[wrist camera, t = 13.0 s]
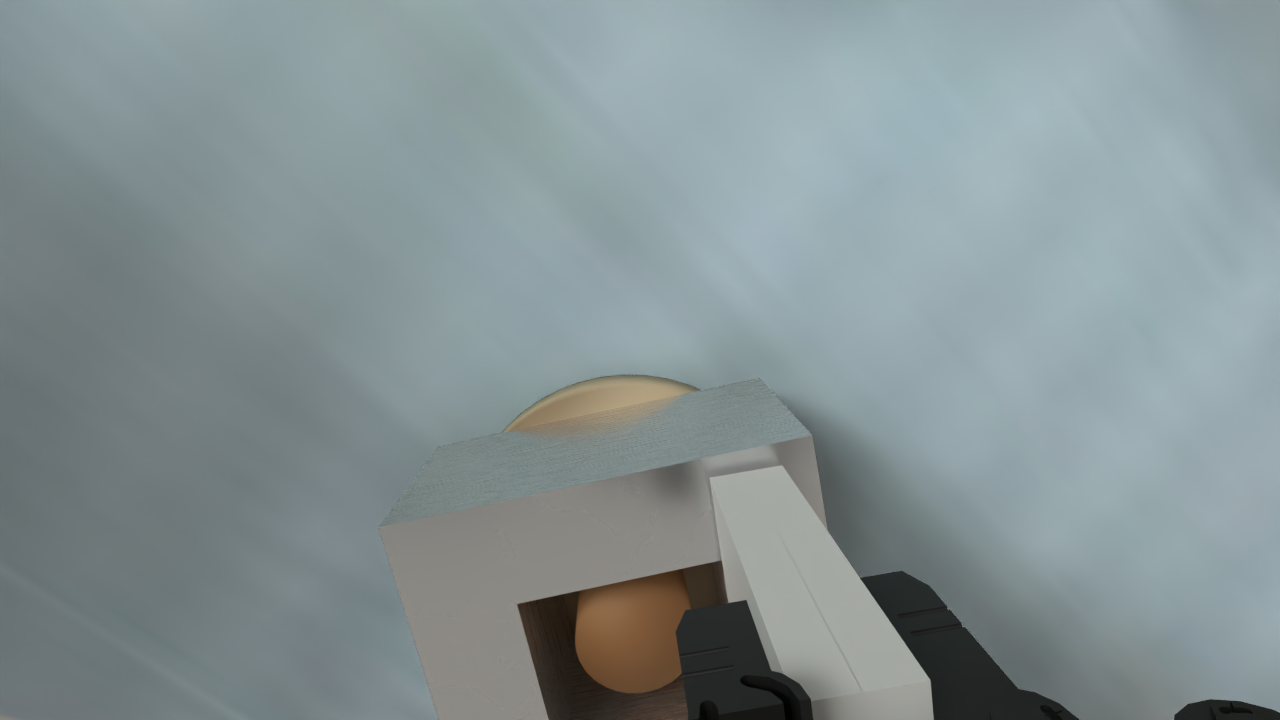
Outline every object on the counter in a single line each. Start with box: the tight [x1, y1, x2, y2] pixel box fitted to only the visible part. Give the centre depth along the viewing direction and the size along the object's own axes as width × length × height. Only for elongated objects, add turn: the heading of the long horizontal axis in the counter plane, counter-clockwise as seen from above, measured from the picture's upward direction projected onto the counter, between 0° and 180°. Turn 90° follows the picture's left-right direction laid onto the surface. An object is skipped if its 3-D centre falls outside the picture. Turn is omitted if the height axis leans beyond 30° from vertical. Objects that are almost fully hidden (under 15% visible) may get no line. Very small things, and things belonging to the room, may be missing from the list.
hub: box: [502, 375, 720, 693], centre depth 18 cm, size 10×10×6 cm
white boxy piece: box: [379, 378, 828, 720], centre depth 17 cm, size 9×9×5 cm
